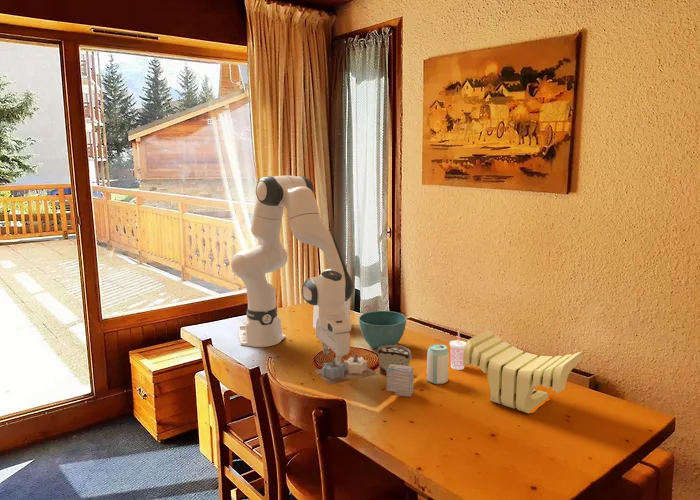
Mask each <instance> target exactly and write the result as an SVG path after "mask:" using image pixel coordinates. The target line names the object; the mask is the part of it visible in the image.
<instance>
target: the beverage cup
mask: <svg viewBox="0 0 700 500" xmlns="http://www.w3.org/2000/svg"><path fill="white" fill-rule="evenodd" d="M466 343H467V341H465V340H464V341H463V340H460V329H458V330H457V339H456V340H451V341H449V347H450V350H449V352H450V367H451V368H452V369H453V370H457V371H458V370H459V371H460V370H464V369H465V365H463V354H464V347H465V345H466Z"/></svg>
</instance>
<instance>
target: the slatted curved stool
mask: <svg viewBox="0 0 700 500" xmlns="http://www.w3.org/2000/svg"><path fill="white" fill-rule="evenodd" d="M582 356H583V351H578V352H575V353H574V354H572V353H570V354H565V355H564V356H563V355H555V356H554V357H553V356H552V355H550V356H549V355H538V354H535V353H534V354H533V353H531V352H528V351H527V352H524V350H522V349H519V348H517V347H515V346H513V345H512V346H511V344H510V343H508V342H507V341H503V339H502V338H501V337H499V336H498V335H495V332H493V331H492V330H491V329H486V330H485V331H483V332H481V333H479V334H477V335H474V336H472V337H471V338H469V339H468V340H467V341H466V345H465V347H464V354H463V365H464V366H471V367H475V368H478V367H479V370H480V371H482V372H483V374H487V381H488V386H489V390H490V400H489V401H491V402H493V403H496V404H499V405H503V406H505V407H508V408H511V409H514V410H517V411H521V412H523V413H526V414H529V412H530V411H531V410H533V409H534V408H535V407H536V406H538V405H539V404H540V403H542V402H543V401H544V400H546V399H547V398H548V397H549V398H550V396H549V394H548V393H549V392H546V391H543V390H539V389H538V390H537V389H536V387H540V386H541V385H542V388H546V389H552V391H553V392H556V394H560V393H561V392H562V391H564V390H565V389H566V383H567V382H568V381H567V380H568V377H569V376H570V373H572V370H573V369H574V368H575V367H576V366H577V365H578V364H579V363H581V361H582V358H583V357H582ZM501 403H502V404H501ZM515 408H517V409H515Z"/></svg>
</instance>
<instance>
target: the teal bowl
mask: <svg viewBox="0 0 700 500" xmlns="http://www.w3.org/2000/svg"><path fill="white" fill-rule="evenodd" d="M358 321H359V328H360V331H361V334H362V336H363V338H364V339H365V341H366V343H367V344H368V346H369V347H370V348H371V349H372V350H375V351H377V350H378V348H380V347H382V346H387V345H398V344H399V342H400V341H401V339H402V337H403V335H404V332H405V329H406V325H407V316H406V315H404V314H402V313H401V312H396V311H391V310H374V311H368V312H365V313H363V314H361V315H360V316H359V317H358Z"/></svg>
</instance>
